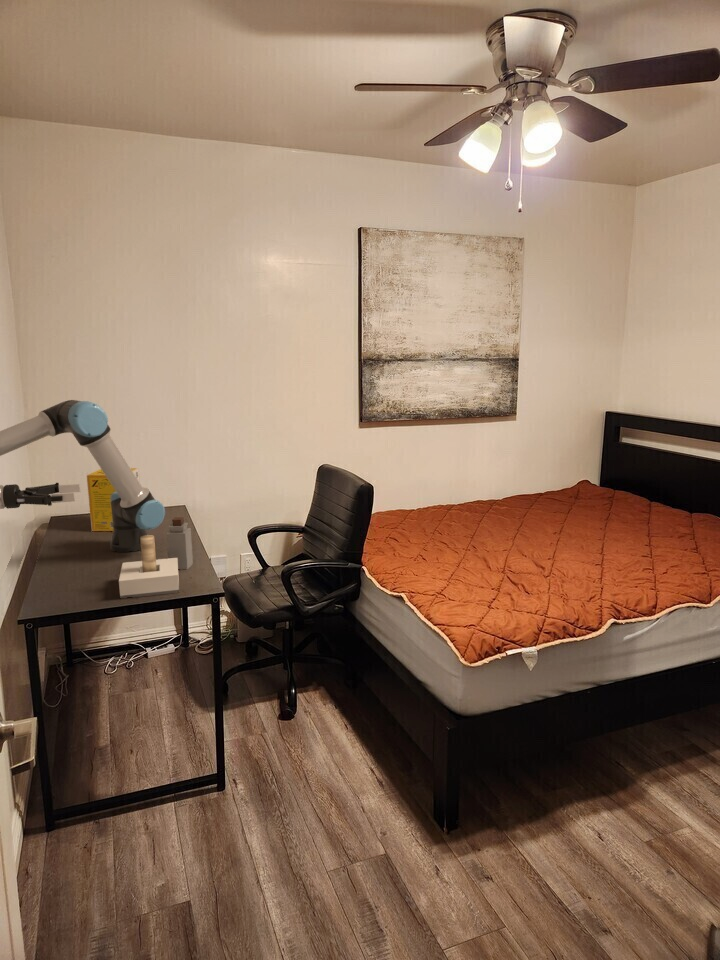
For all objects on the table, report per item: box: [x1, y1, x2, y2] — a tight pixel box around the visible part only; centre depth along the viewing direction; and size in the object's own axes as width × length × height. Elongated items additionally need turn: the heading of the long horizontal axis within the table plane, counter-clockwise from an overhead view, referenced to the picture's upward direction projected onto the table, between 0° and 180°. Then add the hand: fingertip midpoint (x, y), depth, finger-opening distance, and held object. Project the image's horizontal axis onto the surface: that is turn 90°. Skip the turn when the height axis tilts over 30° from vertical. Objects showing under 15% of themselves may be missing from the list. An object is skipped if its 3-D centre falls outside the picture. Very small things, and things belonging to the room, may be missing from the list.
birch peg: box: [140, 534, 157, 573], centre depth 211 cm, size 4×4×16 cm
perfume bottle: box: [165, 516, 194, 571], centre depth 230 cm, size 7×7×18 cm
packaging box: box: [85, 467, 141, 532], centre depth 280 cm, size 16×16×25 cm
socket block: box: [118, 558, 180, 599], centre depth 212 cm, size 18×18×6 cm
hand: (77, 492), depth 207 cm, fingers open, 13 cm apart
